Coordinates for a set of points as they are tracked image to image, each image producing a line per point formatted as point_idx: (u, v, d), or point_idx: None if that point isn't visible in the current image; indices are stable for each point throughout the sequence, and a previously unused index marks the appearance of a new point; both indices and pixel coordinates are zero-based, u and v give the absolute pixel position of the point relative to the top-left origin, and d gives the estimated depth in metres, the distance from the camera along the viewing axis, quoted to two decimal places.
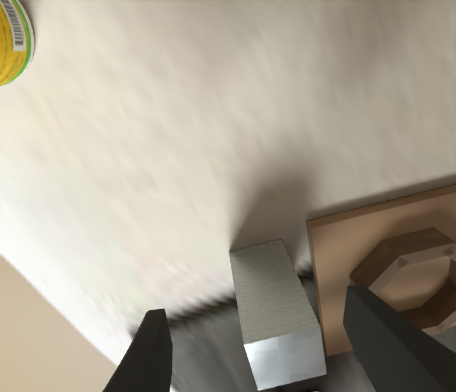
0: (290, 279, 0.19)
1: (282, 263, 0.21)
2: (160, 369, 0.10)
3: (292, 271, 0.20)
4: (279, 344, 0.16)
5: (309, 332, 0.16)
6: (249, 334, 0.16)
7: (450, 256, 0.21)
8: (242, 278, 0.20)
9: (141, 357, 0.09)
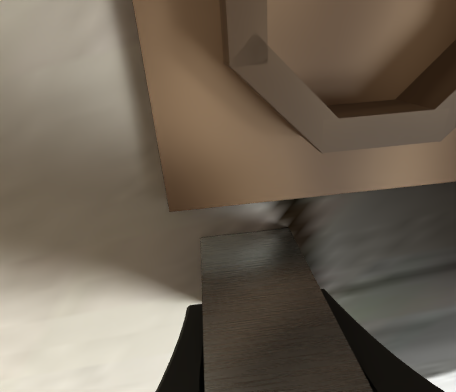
0: None
1: None
2: None
3: None
4: None
5: None
6: None
7: None
8: None
9: (192, 350, 0.09)
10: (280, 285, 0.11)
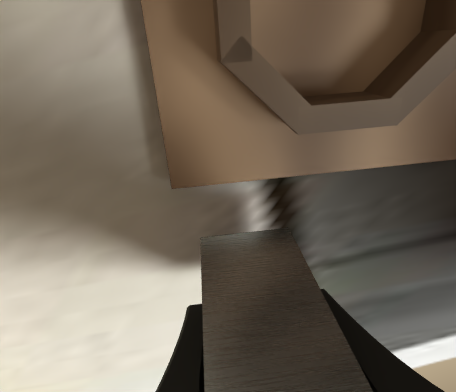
0: None
1: None
2: None
3: None
4: None
5: None
6: None
7: None
8: None
9: (192, 350, 0.09)
10: (280, 284, 0.11)
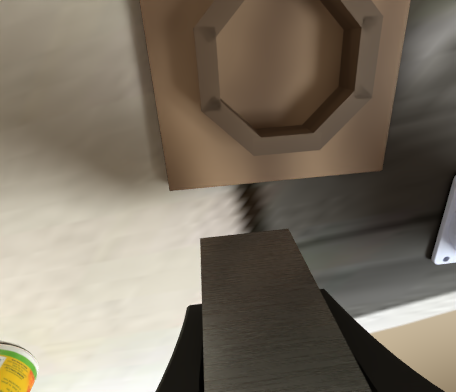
0: None
1: None
2: None
3: None
4: None
5: None
6: None
7: (218, 28, 0.14)
8: None
9: (192, 350, 0.09)
10: (280, 286, 0.11)
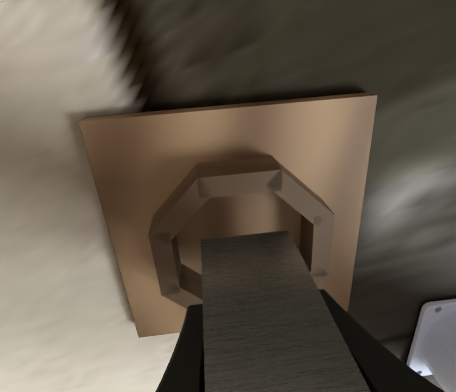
0: None
1: None
2: None
3: (203, 302, 0.11)
4: None
5: None
6: None
7: (173, 234, 0.15)
8: None
9: (192, 350, 0.09)
10: (280, 287, 0.11)
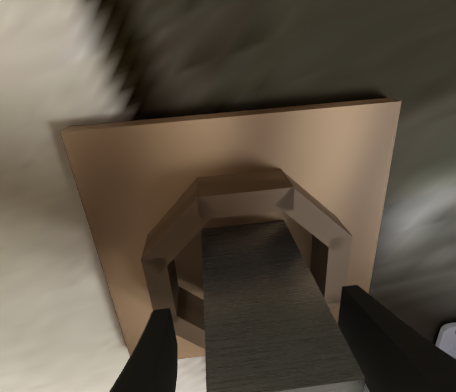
0: None
1: None
2: (166, 368, 0.10)
3: None
4: None
5: None
6: None
7: (169, 259, 0.13)
8: None
9: (148, 356, 0.09)
10: (275, 270, 0.12)
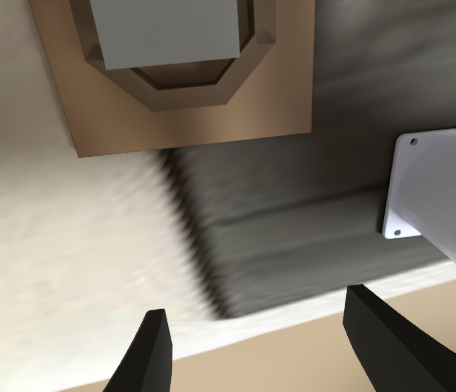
0: None
1: None
2: (160, 369, 0.10)
3: None
4: None
5: None
6: None
7: None
8: None
9: (141, 357, 0.09)
10: None
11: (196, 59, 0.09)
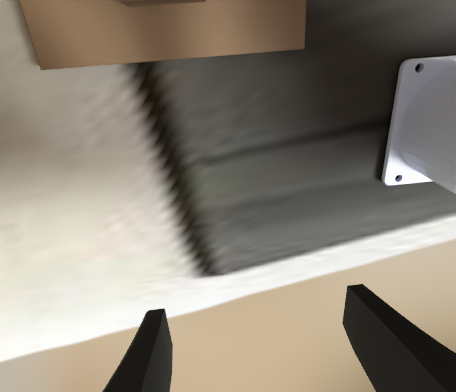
0: None
1: None
2: (160, 369, 0.10)
3: None
4: None
5: None
6: None
7: None
8: None
9: (141, 357, 0.09)
10: None
11: None
